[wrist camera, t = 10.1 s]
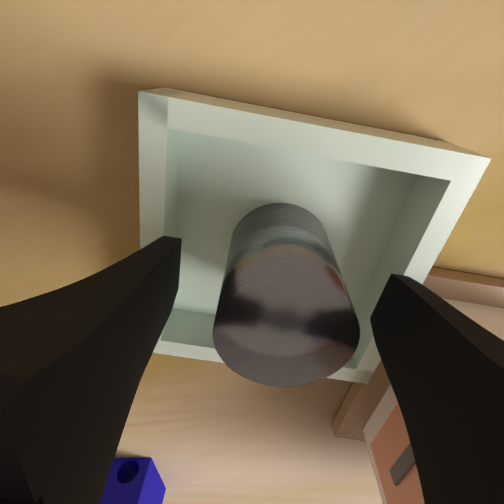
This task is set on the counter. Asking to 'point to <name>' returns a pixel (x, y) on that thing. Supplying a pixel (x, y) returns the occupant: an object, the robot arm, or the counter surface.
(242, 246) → the coupling
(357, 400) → the mounted housing
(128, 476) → the blue cradle block
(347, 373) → the parts tray
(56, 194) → the counter surface
